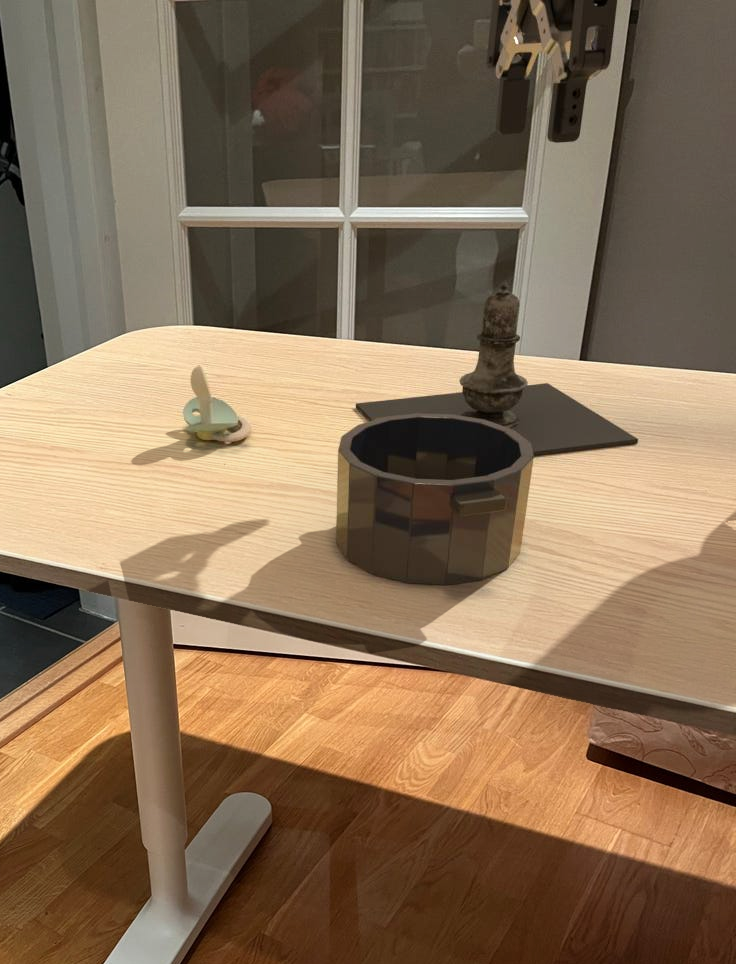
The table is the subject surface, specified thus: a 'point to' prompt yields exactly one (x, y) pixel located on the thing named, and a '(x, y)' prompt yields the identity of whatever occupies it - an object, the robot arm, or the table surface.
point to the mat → (523, 418)
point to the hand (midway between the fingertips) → (534, 137)
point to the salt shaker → (496, 363)
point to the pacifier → (211, 413)
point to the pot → (432, 497)
